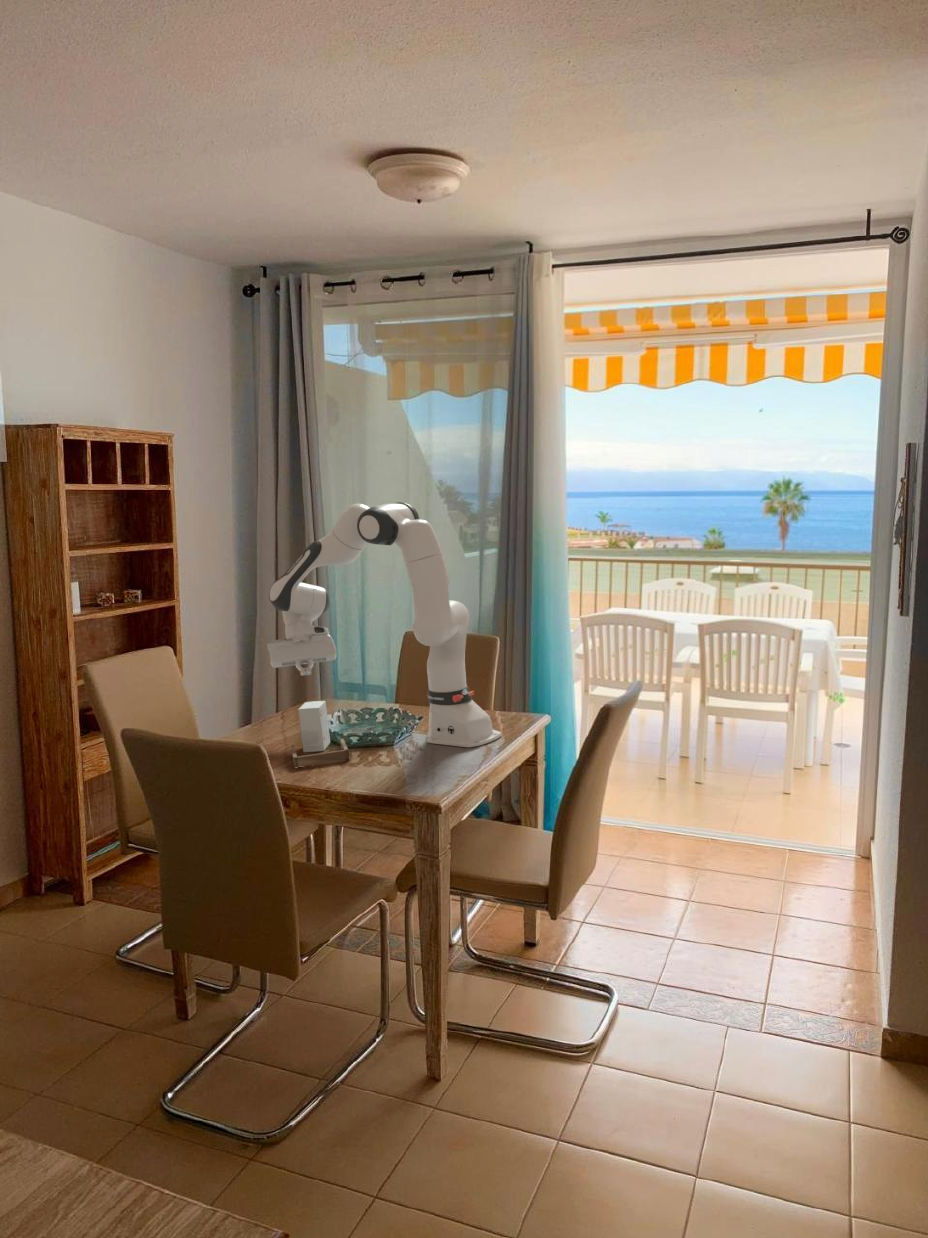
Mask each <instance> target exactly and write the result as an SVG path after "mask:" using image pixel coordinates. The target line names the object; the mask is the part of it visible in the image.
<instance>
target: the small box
mask: <svg viewBox="0 0 928 1238" xmlns="http://www.w3.org/2000/svg"><path fill="white" fill-rule="evenodd" d="M326 702H327V701H326V700H317V701H315V700H313V701H305V702H304V703H303V704H301V706H300V707H299V708H297V711H298V717H299V725H300V727H299V728H300V734H301V741H302V742H301V743H302V749H303V750H302V751H303V753H310V752H313V753H314V752H324V751H325V750H326V748H327V747H328V746H329V745H330V743H331V737H330V730H329V728H330V727H329V720H328V710H327V703H326Z"/></svg>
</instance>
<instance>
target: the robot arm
mask: <svg viewBox="0 0 928 1238" xmlns="http://www.w3.org/2000/svg"><path fill="white" fill-rule="evenodd" d="M368 544H371V545H372V544H373V545H377V546H378V545H381V546H392V545H393V544H396V545H397V546H398V547H399V548H400V550H401V552H402V556H403V557H402V558H403V560H404V563H405V567H406V571H407V575H408V578H409V582H410V585H411V586H410V587H411V592H412V598H413V610H414V611H413V613H414V621H413V624H412V632H413V634H414V637H415V639H416V640H417V641H418V642H419V643H420V645H421V644H422V645H423V646H427V647H429V652H428V657H427V661H426V673H427V682H428V689H427V698H428V699H427V701H428V703H429V713H428V732H427V739H426V740H427V741H426V742H427V743H428V744H437V745H442V746H443V745H445V746H453V747H461V748H462V747H463V748H473V747H478V746H483V745H486V744H489V743H491V742H494V741H496V740H497V739H499V738H500V737H501V736H502V732H501V731H498V730H495V729H494V728H493V724H492V720H491V717H490V715H489V714H488V713H487V712H486V711H484V710H483V708H481V706H479V704H477V703H476V702H475V701H474V700H473V695H475V693H474V692H475V690H470V688H469V686H468V685H467V677H466V676H467V675H466V674H467V673H466V661H465V660H466V646H467V632H468V625H469V621H470V613H469V610H468V608H467V607H466V606H465V604H463V603H462V602H460V601H457V600H454V599H453V600H452V599H451V600H450V596H449V595H450V593H449V585H450V577H449V576H450V575H449V572H448V569H447V565H446V562H445V561H446V560H445V557H444V554H443V551H442V548H441V544H440V542H439V539H438V537H437V534H436V532H435V530H434V528H433V526H432V524H431V523H430V522H429V521H428V520H425V519H421V518H420V517H419V513H418V511H417V509H416V508H415V507H414V506H413V505H411V504H409V503H408V502H399V501H398V502H395V503H393V502H392V503H383V504H379V505H376V506H371V507H370V506H368V505H366V504H363V503H354V504H352V505H350V506H348V508H347V509H346V510H345V511H344V512H343V513H342V514H341V515H340V517H339V518H338V520H336V523H335V524H334V526H333V527H332V529H331V530H330V531H329V532H328V533H326V535H325V536H323V537H322V538H320V539H318V540H316V541H314V542H311V543H310V544H308V546H307V547H306V548H305V549H304V550H303V551H302V553H301V554H300V555H299V556H298V557H297V558H296V559H295V560H294V562H293V563H292V564H291V565H290V566H289V568H288V569H287V570H286V571H285V572H284V573H283V574H282V575H281V576H280V577H279V578H278V579H276V580H275V582H274V583H272V585H271V587H270V589H269V592H268V600H269V601H270V604H271V605H272V606H273V608H274V610H277V611H281V612H282V619H283V620H282V621H283V623H284V626H285V627H284V632H285V638H281V639H273V640H271V641H270V642H268V643H267V645H266V646H267V651H268V653H269V660H270V666H271V667H272V668H273V669H275V668H276V669H277V668H284V667H291V666H295V668H296V669H297V670H298V671H299V672H300V676H309V675H312V670H313V668H314V664H315V663H317V664H318V663H323V662H331V661H335V660H336V659H337V656H338V655H337V653H338V652H337V647H336V644H335V641H334V639H333V637H332V636H331V635H330V632H329V628H328V627H325V626H318V625H317V626H316V625H313V622H314V621H317V620H319V619H320V618H321V617H322V616H323V615H324V614H326V613H327V612H328V610H329V607H330V598H329V597H330V596H329V594H328V591H327V590H326V588H325V587H323V586H320V585H315V584H312V583H311V584H310V583H306V582H303V581H304V579H305V578H306V577H307V576H308V575H309V573H310V572H311V571H313V570H314V569H316V568H319V567H324V566H326V567H327V566H343V565H347V564H348V565H349V564H352V563H353V562H355V561H356V560H357V559H358V558H359V557H360V556H361V555H362V554H363V551H364V550H365V548H366V547H367V545H368ZM306 664H307V665H308V666H307V667H302V666H301V665H306Z"/></svg>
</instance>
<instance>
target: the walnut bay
mask: <svg viewBox="0 0 928 1238" xmlns="http://www.w3.org/2000/svg"><path fill="white" fill-rule="evenodd" d="M339 741H340V750H333V751H325V752H319V753H318V752H317V753H313V754H306V755H300V756H298V755H297V750H296V745H295V744H294V745H290V749H291V758H292V757H293V758H292V761H293V766H295V767H299V766H310V767H313V766H312V765H317V766H323V765H329V764H336V763H341V762H346V761H350V754H349V749H348V745H347V744H346V741H345V739H344V738H343V737H342V738H339ZM295 767H294V768H295Z"/></svg>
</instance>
